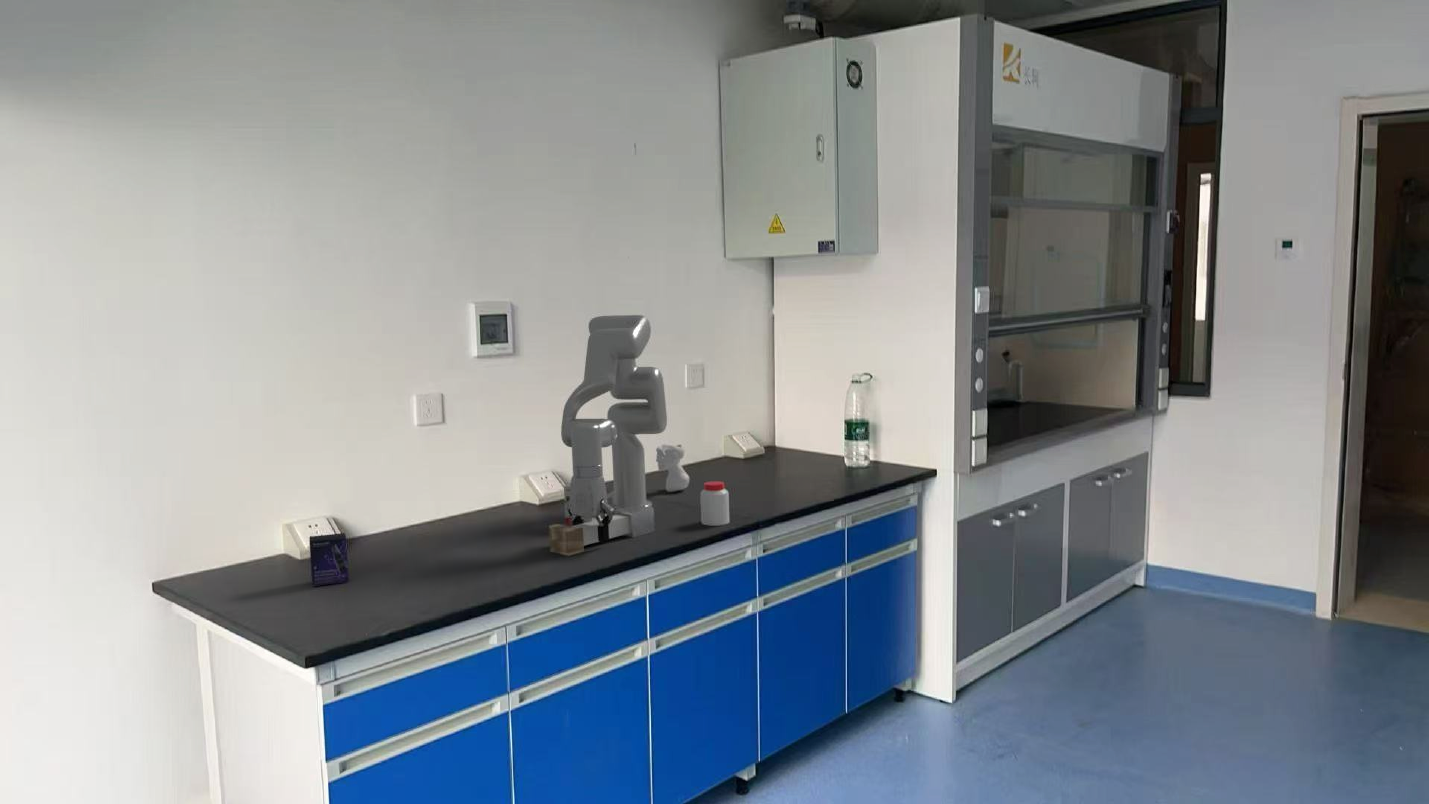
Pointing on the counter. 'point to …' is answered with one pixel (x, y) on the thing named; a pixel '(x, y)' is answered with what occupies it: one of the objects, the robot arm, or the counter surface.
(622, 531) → the light grey bar
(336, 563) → the box
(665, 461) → the white bust sculpture
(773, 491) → the counter surface
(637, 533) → the sleeve
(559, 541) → the crate
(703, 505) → the pill bottle
